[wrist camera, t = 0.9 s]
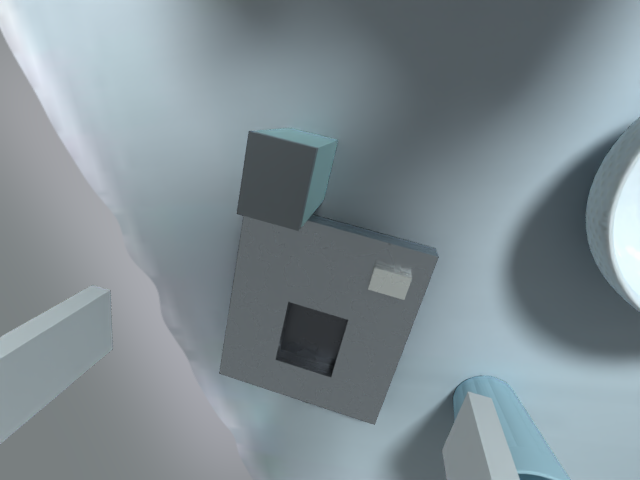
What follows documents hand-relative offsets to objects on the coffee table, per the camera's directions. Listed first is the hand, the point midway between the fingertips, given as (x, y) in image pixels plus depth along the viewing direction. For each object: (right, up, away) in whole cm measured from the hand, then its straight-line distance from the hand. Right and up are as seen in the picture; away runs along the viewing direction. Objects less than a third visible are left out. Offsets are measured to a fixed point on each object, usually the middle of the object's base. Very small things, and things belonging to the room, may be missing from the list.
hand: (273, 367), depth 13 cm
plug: (+1, +11, +16) cm, 20 cm away
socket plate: (+2, -2, +21) cm, 21 cm away
